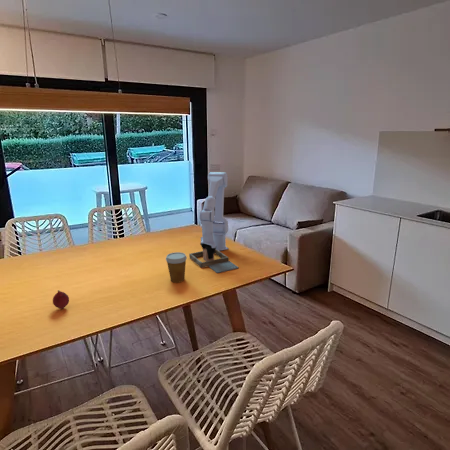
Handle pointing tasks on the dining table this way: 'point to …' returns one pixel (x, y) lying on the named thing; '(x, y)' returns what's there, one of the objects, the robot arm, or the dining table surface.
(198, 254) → the grey square frame
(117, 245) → the dining table surface
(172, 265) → the disposable coffee cup
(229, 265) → the mat
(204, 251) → the block
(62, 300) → the onion
